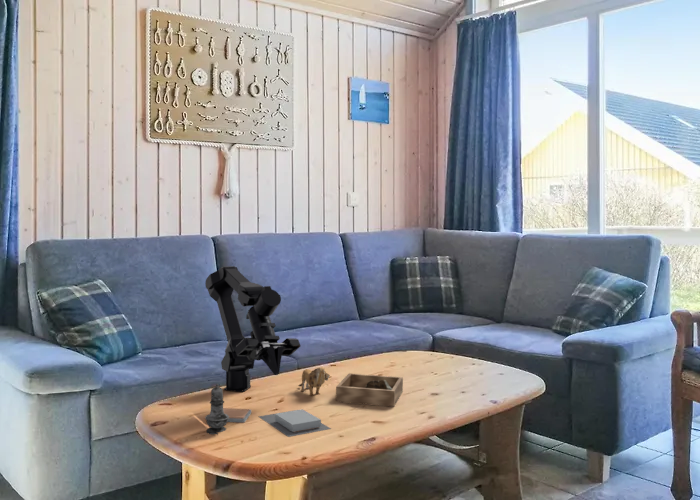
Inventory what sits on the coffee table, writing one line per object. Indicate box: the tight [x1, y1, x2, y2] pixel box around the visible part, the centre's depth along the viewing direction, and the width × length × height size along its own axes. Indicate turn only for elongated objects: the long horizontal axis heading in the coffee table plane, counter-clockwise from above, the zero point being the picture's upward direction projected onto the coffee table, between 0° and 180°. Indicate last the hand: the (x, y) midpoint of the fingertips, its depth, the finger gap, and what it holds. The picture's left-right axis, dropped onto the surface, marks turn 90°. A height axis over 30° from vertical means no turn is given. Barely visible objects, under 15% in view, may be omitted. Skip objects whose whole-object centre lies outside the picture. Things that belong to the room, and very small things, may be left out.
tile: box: [274, 408, 322, 432], centre depth 170 cm, size 2×8×10 cm
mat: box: [258, 409, 332, 438], centre depth 172 cm, size 18×12×1 cm, turn 32°
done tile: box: [223, 407, 252, 423], centre depth 176 cm, size 10×8×2 cm
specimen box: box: [335, 372, 404, 408], centre depth 198 cm, size 17×16×4 cm
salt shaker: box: [204, 383, 229, 435], centre depth 166 cm, size 6×6×12 cm
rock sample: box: [365, 380, 392, 390], centre depth 200 cm, size 10×8×9 cm
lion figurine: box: [298, 366, 330, 397], centre depth 201 cm, size 15×5×9 cm, turn 35°
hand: (276, 374), depth 182 cm, fingers closed
